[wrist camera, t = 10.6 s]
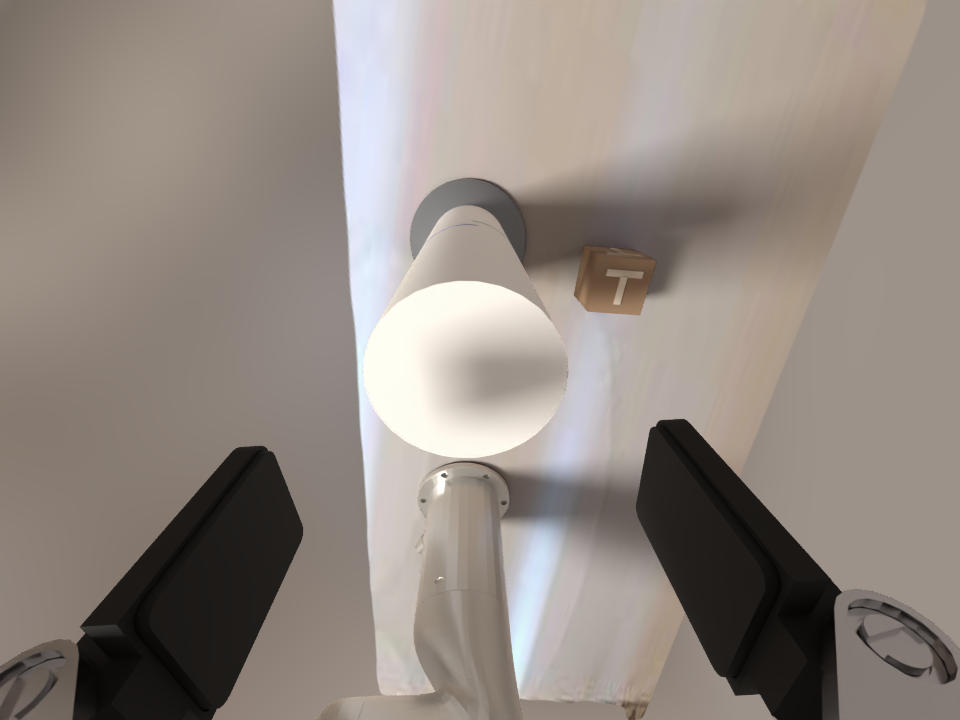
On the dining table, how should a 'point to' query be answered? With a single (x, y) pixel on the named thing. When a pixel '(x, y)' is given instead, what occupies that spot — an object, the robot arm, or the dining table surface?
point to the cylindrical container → (466, 345)
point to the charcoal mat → (468, 195)
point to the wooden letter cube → (613, 280)
